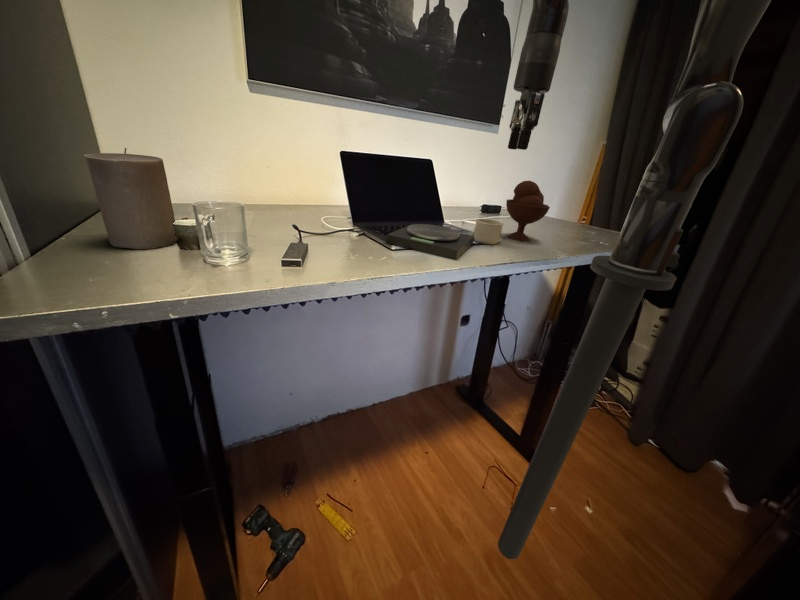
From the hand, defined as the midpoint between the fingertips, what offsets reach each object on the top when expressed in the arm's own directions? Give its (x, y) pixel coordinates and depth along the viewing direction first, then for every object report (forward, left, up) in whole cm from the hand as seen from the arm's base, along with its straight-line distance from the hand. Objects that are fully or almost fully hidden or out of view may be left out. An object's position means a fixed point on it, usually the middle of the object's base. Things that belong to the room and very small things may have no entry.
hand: (516, 149), depth 75 cm
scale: (+12, +16, -22) cm, 29 cm away
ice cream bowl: (-5, -8, -22) cm, 24 cm away
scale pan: (+12, +16, -19) cm, 28 cm away
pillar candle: (+52, +54, -22) cm, 78 cm away
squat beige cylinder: (+2, +3, -22) cm, 22 cm away
